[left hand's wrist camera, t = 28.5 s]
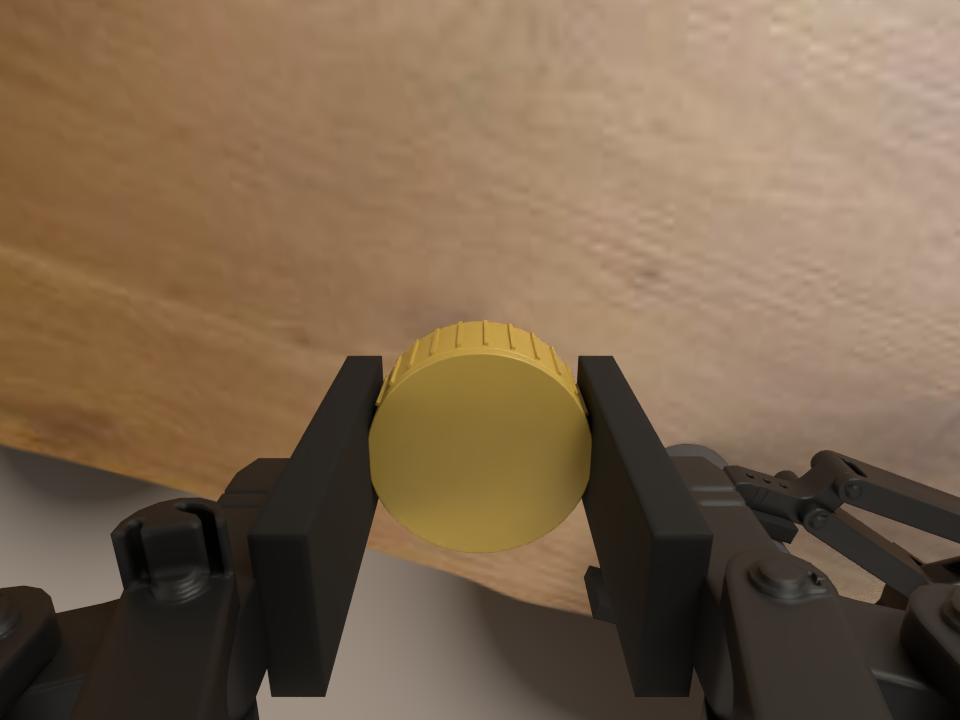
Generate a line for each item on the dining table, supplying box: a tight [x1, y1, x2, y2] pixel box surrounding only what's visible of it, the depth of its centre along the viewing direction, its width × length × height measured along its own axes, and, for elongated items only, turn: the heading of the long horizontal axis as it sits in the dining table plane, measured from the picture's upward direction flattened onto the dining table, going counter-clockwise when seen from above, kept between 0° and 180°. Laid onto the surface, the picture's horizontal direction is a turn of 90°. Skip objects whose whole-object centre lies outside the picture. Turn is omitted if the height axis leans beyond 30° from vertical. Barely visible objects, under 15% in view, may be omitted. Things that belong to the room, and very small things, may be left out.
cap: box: [368, 320, 592, 553], centre depth 13 cm, size 5×5×2 cm
